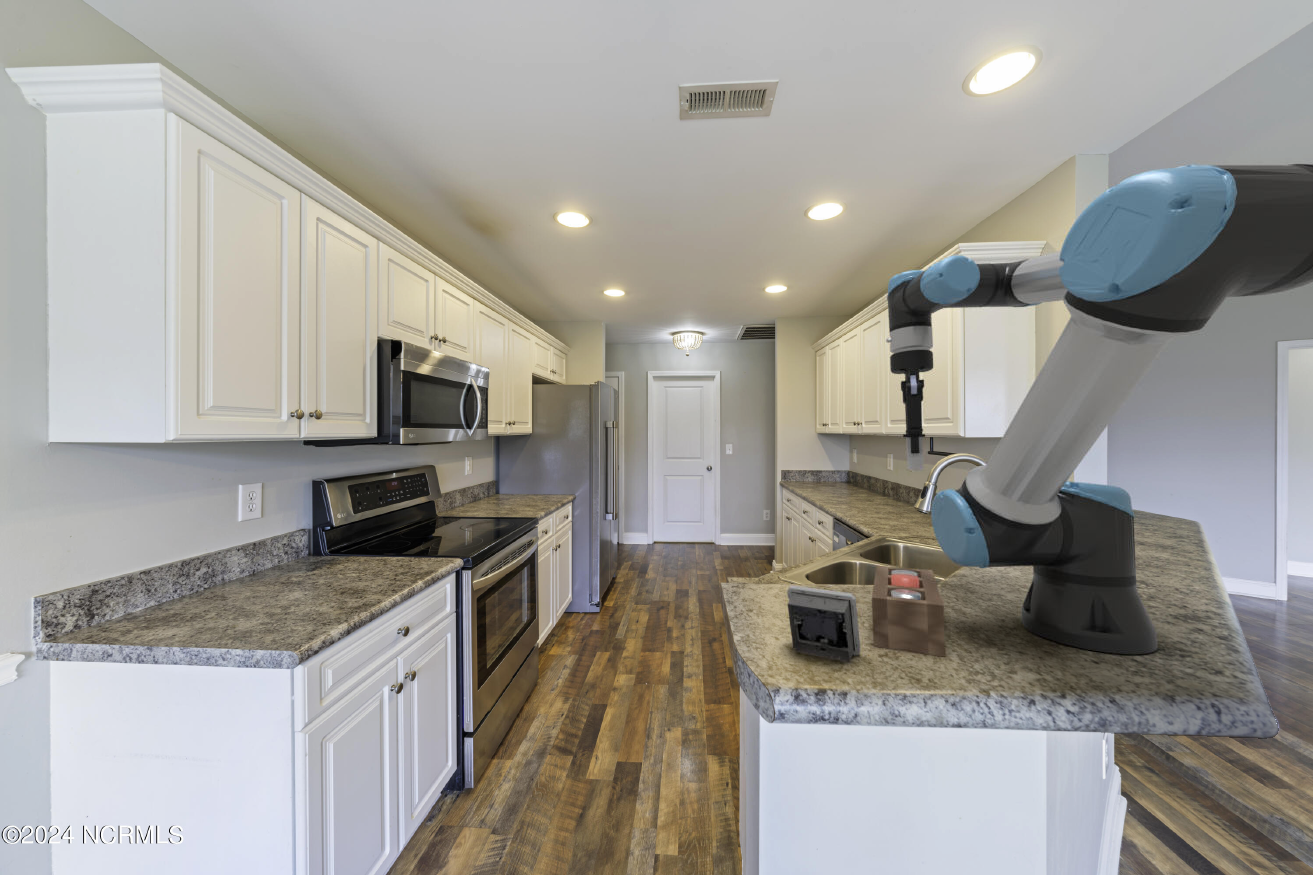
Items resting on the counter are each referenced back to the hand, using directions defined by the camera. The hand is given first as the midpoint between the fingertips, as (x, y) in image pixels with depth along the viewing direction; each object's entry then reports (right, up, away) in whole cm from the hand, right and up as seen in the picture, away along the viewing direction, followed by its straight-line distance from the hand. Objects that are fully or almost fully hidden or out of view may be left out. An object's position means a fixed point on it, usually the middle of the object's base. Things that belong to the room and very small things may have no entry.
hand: (915, 470), depth 93 cm
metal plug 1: (-8, -23, -11) cm, 27 cm away
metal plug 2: (-14, -23, -23) cm, 35 cm away
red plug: (-11, -22, -17) cm, 30 cm away
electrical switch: (-28, -24, -27) cm, 45 cm away
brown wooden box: (-11, -24, -17) cm, 31 cm away
